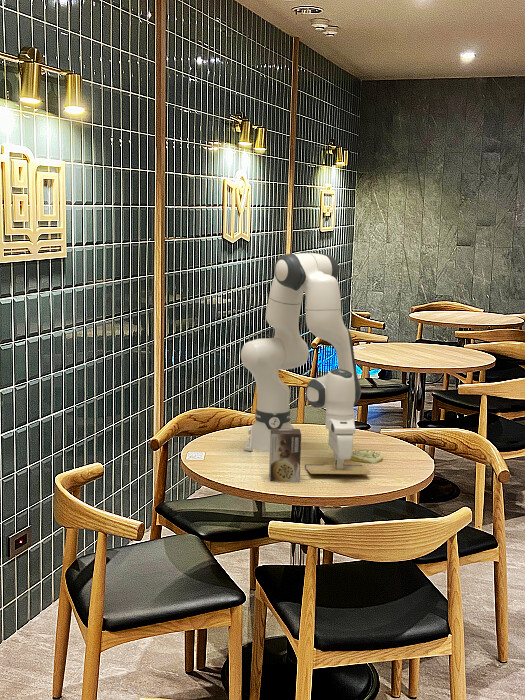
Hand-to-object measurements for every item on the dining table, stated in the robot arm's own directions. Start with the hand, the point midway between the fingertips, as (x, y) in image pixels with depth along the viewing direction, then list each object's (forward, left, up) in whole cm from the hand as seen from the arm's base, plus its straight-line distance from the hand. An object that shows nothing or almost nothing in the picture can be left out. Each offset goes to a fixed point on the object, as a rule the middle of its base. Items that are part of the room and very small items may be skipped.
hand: (338, 467), depth 256 cm
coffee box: (+6, -18, -4) cm, 19 cm away
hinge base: (0, -1, -4) cm, 3 cm away
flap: (0, -1, -3) cm, 3 cm away
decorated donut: (-18, +12, -4) cm, 22 cm away
